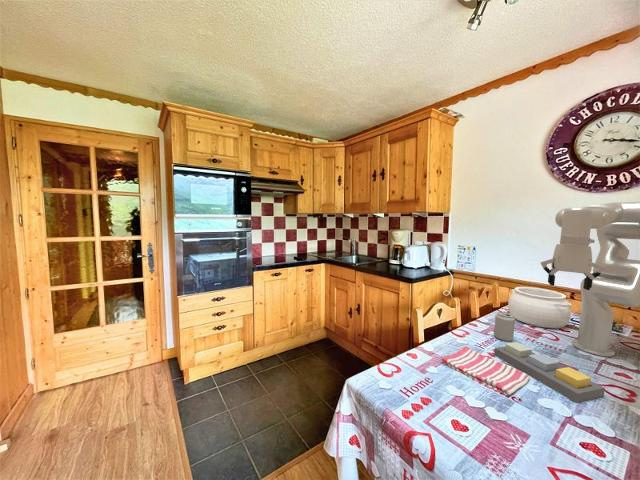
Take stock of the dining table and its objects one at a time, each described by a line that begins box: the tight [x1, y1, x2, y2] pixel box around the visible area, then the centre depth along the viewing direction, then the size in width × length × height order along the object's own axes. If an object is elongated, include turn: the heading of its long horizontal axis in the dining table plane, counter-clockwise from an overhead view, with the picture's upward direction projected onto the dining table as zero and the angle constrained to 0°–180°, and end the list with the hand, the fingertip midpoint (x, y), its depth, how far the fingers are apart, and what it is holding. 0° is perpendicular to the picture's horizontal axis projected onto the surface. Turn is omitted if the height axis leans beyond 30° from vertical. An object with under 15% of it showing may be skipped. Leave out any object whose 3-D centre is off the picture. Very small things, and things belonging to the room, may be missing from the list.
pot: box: [507, 286, 572, 329], centre depth 141 cm, size 29×26×16 cm
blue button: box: [528, 353, 560, 372], centre depth 93 cm, size 6×6×3 cm
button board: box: [493, 346, 606, 403], centre depth 93 cm, size 12×28×3 cm, turn 14°
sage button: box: [504, 341, 533, 358], centre depth 101 cm, size 6×6×3 cm
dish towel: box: [441, 345, 531, 397], centre depth 94 cm, size 17×23×4 cm
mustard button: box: [555, 366, 592, 389], centre depth 84 cm, size 6×6×3 cm
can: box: [493, 311, 516, 342], centre depth 120 cm, size 8×8×12 cm
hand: (568, 287), depth 95 cm, fingers open, 9 cm apart
